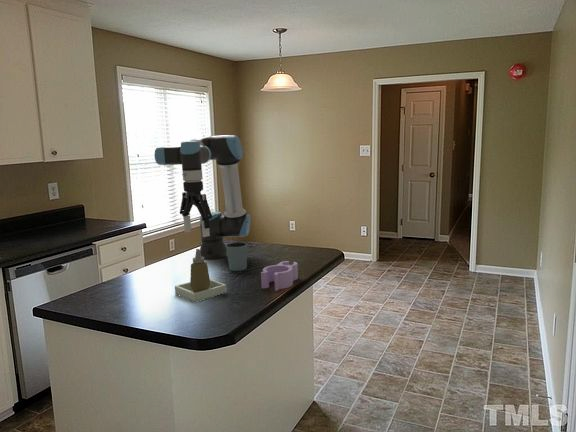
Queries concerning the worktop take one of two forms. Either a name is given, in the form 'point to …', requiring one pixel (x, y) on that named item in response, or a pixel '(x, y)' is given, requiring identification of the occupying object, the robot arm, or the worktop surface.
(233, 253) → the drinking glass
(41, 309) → the worktop surface
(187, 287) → the tray
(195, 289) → the squeeze bottle
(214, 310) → the worktop surface
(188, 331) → the worktop surface
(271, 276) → the clip
